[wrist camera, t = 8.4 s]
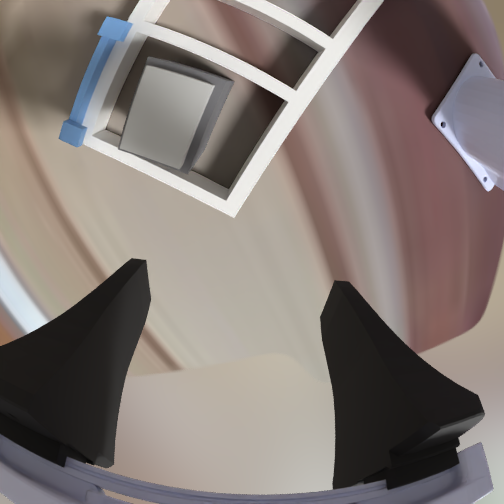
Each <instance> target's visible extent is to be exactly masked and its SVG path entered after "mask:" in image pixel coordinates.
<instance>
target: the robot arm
mask: <svg viewBox="0 0 504 504" xmlns="http://www.w3.org/2000/svg"><path fill="white" fill-rule="evenodd" d="M479 62H480V65H479ZM432 122H433V124H434V125H435V126H436V127H437V128H438V130H439V131H440V132H441V133H442V134H443V135H444V136H445V138H446V139H447V140H448V141H449V142H450V143H451V145H452V146H453V147H454V148H455V150H456V151H457V152H458V153H459V155H460V156H461V157H462V158H463V160H464V161H465V162H466V164H467V165H468V166H469V168H470V169H471V170H472V172H473V173H474V174H475V176H476V177H477V179H478V180H479V181H480V183H481V184H482V186H483V187H484V189H485V190H487V191H490V190H491V189H492V188H493V186H494V185H496V186H498V187H499V188H500V189H502V190H503V191H504V80H499V79H496V78H495V77H494V75H493V74H492V72H491V71H490V70H489V68H488V67H487V65H486V64H485V63H484V61H483V60H482V59H481V57H480V56H479V55H478V54H472V55H471V56H470V58H469V59H468V61H467V63H466V64H465V66H464V68H463V69H462V71H461V73H460V74H459V76H458V77H457V79H456V81H455V82H454V84H453V85H452V87H451V88H450V90H449V91H448V93H447V95H446V96H445V98H444V99H443V101H442V102H441V104H440V105H439V107H438V108H437V110H436V111H435V113H434V114H433V116H432ZM441 122H443V126H442V127H441ZM483 179H484V180H483ZM150 302H151V295H150V288H149V280H148V272H147V263H146V260H141V259H133V258H131V259H130V260H129V261H128V262H126V263H125V264H124V265H123V266H122V267H120V268H119V269H118V270H117V271H116V272H115V273H114V274H112V275H111V276H110V277H109V278H108V279H106V280H105V281H104V282H103V283H102V284H101V285H99V286H98V287H97V288H96V289H95V290H93V291H92V292H91V293H90V294H88V295H87V296H86V297H84V298H83V299H82V300H81V301H79V302H78V303H77V304H76V305H74V306H73V307H71V308H70V309H69V310H67V311H66V312H64V313H63V314H61V315H60V316H58V317H57V318H55V319H54V320H52V321H50V322H49V323H47V324H45V325H43V326H42V327H40V328H38V329H36V330H35V331H33V332H31V333H29V334H27V335H25V336H23V337H21V338H19V339H17V340H14V341H12V342H10V343H7V344H5V345H2V346H0V492H1V493H2V494H3V495H4V496H5V497H7V498H8V499H9V500H11V501H12V502H13V503H15V504H132V503H129V502H125V501H122V500H118V499H115V498H112V497H109V496H106V495H105V493H104V491H103V490H102V489H101V488H103V489H106V490H109V491H112V492H116V493H119V494H122V495H126V496H129V497H133V498H137V499H141V500H145V501H149V502H154V503H159V504H474V503H475V502H477V501H478V500H480V499H481V498H483V497H484V496H486V495H487V494H489V493H490V492H492V491H493V484H492V480H491V476H490V472H489V467H488V464H487V459H486V456H485V452H484V449H483V445H482V443H481V442H479V443H477V444H475V445H473V446H471V447H468V448H466V449H464V450H463V451H460V452H458V453H457V451H456V447H458V446H459V445H460V443H459V439H458V437H460V436H461V435H463V434H464V433H465V432H466V431H468V430H470V429H471V428H472V427H473V426H475V425H476V424H477V423H479V422H480V421H481V420H482V419H483V417H484V415H485V413H484V410H483V407H482V404H481V401H480V399H479V396H478V395H477V394H474V393H473V392H471V391H469V390H467V389H465V388H464V387H462V386H460V385H458V384H457V383H455V382H453V381H452V380H450V379H449V378H447V377H446V376H444V375H443V374H441V373H440V372H438V371H437V370H436V369H434V368H433V367H432V366H431V365H429V364H428V363H427V362H425V361H424V360H423V359H422V358H420V357H419V356H418V355H417V354H416V353H415V352H414V351H413V350H411V349H410V348H409V347H408V346H407V345H406V344H405V343H404V342H403V341H402V340H401V339H400V338H399V337H398V336H397V335H396V334H395V333H394V332H393V331H392V330H391V329H390V328H389V327H388V326H387V324H386V323H385V322H384V321H383V320H382V319H381V318H380V317H379V316H378V314H377V313H376V312H375V311H374V310H373V309H372V307H371V306H370V305H369V304H368V303H367V302H366V300H365V299H364V298H363V297H362V296H361V295H360V293H359V292H358V291H357V290H356V289H355V288H354V287H353V285H352V284H351V283H350V282H347V281H336V280H335V281H334V283H333V286H332V289H331V291H330V294H329V296H328V299H327V301H326V304H325V306H324V309H323V311H322V314H321V316H320V321H321V333H322V341H323V346H324V351H325V356H326V360H327V365H328V369H329V374H330V379H331V384H332V390H333V396H334V410H335V435H336V436H335V438H336V439H335V464H334V477H333V490H327V491H319V492H309V493H297V494H276V495H247V494H246V495H245V494H226V493H213V492H203V491H195V490H188V489H181V488H175V487H169V486H164V485H159V484H154V483H149V482H145V481H141V480H137V479H133V478H128V477H125V476H122V475H118V474H115V473H111V472H108V471H105V470H102V469H99V468H96V467H93V466H90V465H88V464H86V463H89V464H92V465H98V466H101V467H104V468H109V467H111V466H112V465H114V452H115V437H116V428H117V420H118V413H119V407H120V402H121V396H122V391H123V387H124V382H125V377H126V374H127V371H128V367H129V365H130V362H131V359H132V356H133V354H134V351H135V348H136V346H137V343H138V340H139V338H140V335H141V332H142V330H143V327H144V325H145V322H146V318H147V314H148V310H149V306H150Z"/></svg>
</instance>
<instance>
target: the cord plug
mask: <svg viewBox="0 0 504 504" xmlns="http://www.w3.org/2000/svg"><path fill="white" fill-rule="evenodd" d="M233 84H234V81H232V80H229V79H227V78H224V77H221V76H218V75H215V74H213V73H210V72H207V71H204V70H201V69H198V68H195V67H191V66H188V65H185V64H182V63H178V62H174V61H170V60H165V59H159V58H154V57H149V56H148V58H147V61H146V63H145V66H144V68H143V71H142V74H141V76H140V79H139V82H138V84H137V87H136V90H135V93H134V96H133V99H132V102H131V105H130V108H129V111H128V115H127V118H126V121H125V125H124V128H123V132H122V135H121V139H120V143H119V146H118V150H121V151H124V152H127V153H130V154H133V155H136V156H138V157H141V158H144V159H147V160H150V161H153V162H155V163H158V164H161V165H164V166H167V167H169V168H172V169H175V170H177V171H180V172H183V173H185V174H188V173H189V172H190V170H191V169H192V168H193V166H194V165H195V163H196V162H197V160H198V159H199V157H200V156H201V154H202V153H203V151H204V150H205V148H206V145H207V143H208V140H209V138H210V135H211V133H212V131H213V128H214V126H215V124H216V121H217V119H218V117H219V114H220V112H221V110H222V108H223V105H224V103H225V101H226V99H227V97H228V94H229V92H230V90H231V88H232V86H233Z"/></svg>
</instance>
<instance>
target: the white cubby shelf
mask: <svg viewBox="0 0 504 504" xmlns="http://www.w3.org/2000/svg"><path fill="white" fill-rule="evenodd" d="M169 1H170V0H140V1H139V2H138V4H137V5H136V7H135V9H134V10H133V12H132V14H131V15H130V17H129V19H128V21H123V20H119V19H116V18H112V17H108V16H107V17H106V19H105V21H104V23H103V24H102V26H101V28H100V30H99V32H98V34H97V35H100V36H102V37H101V39H100V41H99V43H98V45H97V47H96V50H95V52H94V54H93V56H92V58H91V61H90V63H89V65H88V68H87V70H86V72H85V75H84V77H83V80H82V83H81V85H80V88H79V91H78V93H77V96H76V99H75V102H74V105H73V108H72V111H71V114H70V117H69V120H66V121H64V122H63V125H62V129H61V132H60V136H59V139H60V140H62V141H64V142H66V143H69V144H71V145H73V146H75V147H79V146H81V145H82V144H84V145H86V146H88V147H90V148H92V149H95V150H97V151H99V152H101V153H103V154H105V155H107V156H109V157H112V158H114V159H116V160H118V161H120V162H122V163H124V164H126V165H128V166H130V167H133V168H135V169H137V170H139V171H141V172H143V173H145V174H147V175H149V176H151V177H153V178H155V179H157V180H159V181H161V182H163V183H165V184H167V185H169V186H172V187H174V188H176V189H178V190H180V191H182V192H184V193H186V194H188V195H190V196H192V197H194V198H196V199H198V200H200V201H202V202H204V203H206V204H208V205H210V206H212V207H214V208H216V209H218V210H220V211H221V212H223V213H225V214H227V215H229V216H231V217H233V218H234V217H235V216H236V214H237V212H238V211H239V209H240V208H241V206H242V204H243V203H244V201H245V200H246V198H247V197H248V195H249V193H250V192H251V190H252V189H253V187H254V186H255V184H256V183H257V181H258V179H259V178H260V176H261V175H262V173H263V172H264V170H265V169H266V167H267V166H268V164H269V162H270V161H271V159H272V158H273V156H274V155H275V153H276V152H277V150H278V149H279V147H280V146H281V144H282V143H283V141H284V140H285V138H286V137H287V135H288V134H289V132H290V131H291V129H292V128H293V126H294V125H295V123H296V122H297V120H298V119H299V117H300V116H301V114H302V113H303V112H304V110H305V109H306V107H307V106H308V104H309V103H310V101H311V100H312V98H313V97H314V96H315V94H316V93H317V91H318V90H319V88H320V87H321V86H322V84H323V83H324V81H325V80H326V78H327V77H328V76H329V74H330V73H331V71H332V70H333V68H334V67H335V66H336V64H337V63H338V62H339V60H340V59H341V57H342V56H343V55H344V53H345V52H346V50H347V49H348V48H349V46H350V45H351V44H352V42H353V41H354V39H355V38H356V37H357V35H358V34H359V33H360V31H361V30H362V29H363V27H364V26H365V25H366V23H367V22H368V21H369V19H370V18H371V17H372V15H373V14H374V13H375V11H376V10H377V9H378V8H379V6H380V5H381V4H382V2H383V1H384V0H357V1H356V3H355V4H354V5H353V6H352V8H351V9H350V10H349V11H348V13H347V14H346V15H345V17H344V18H343V19H342V21H341V22H340V23H339V25H338V26H337V27H336V29H335V30H334V31H333V33H332V34H331V35H330V37H329V36H327V35H326V34H324V33H323V32H321V31H320V30H318V29H317V28H315V27H313V26H312V25H310V24H308V23H307V22H305V21H303V20H301V19H300V18H298V17H296V16H294V15H293V14H291V13H289V12H287V11H285V10H283V9H281V8H279V7H278V6H276V5H274V4H272V3H269V2H267V1H265V0H218V1H220V2H223V3H225V4H228V5H230V6H233V7H235V8H237V9H240V10H242V11H244V12H246V13H248V14H251V15H253V16H255V17H257V18H259V19H261V20H263V21H265V22H267V23H269V24H271V25H273V26H275V27H277V28H278V29H280V30H282V31H284V32H286V33H288V34H289V35H291V36H293V37H295V38H296V39H298V40H300V41H301V42H303V43H305V44H306V45H308V46H310V47H311V48H313V49H314V50H316V51H317V52H318V53H317V55H316V56H315V57H314V59H313V60H312V62H311V63H310V64H309V66H308V67H307V69H306V70H305V72H304V73H303V74H302V76H301V77H300V79H299V80H298V82H297V83H296V85H295V86H294V87H293V89H292V88H290V87H289V86H287V85H285V84H284V83H282V82H280V81H279V80H277V79H275V78H273V77H272V76H270V75H268V74H266V73H264V72H263V71H261V70H259V69H257V68H255V67H253V66H251V65H249V64H248V63H246V62H244V61H242V60H240V59H238V58H236V57H234V56H232V55H229V54H227V53H225V52H223V51H221V50H219V49H217V48H214V47H212V46H210V45H208V44H205V43H203V42H201V41H198V40H196V39H193V38H191V37H188V36H186V35H183V34H181V33H178V32H175V31H172V30H170V29H167V28H164V27H161V26H158V25H155V23H156V22H157V20H158V18H159V17H160V15H161V13H162V12H163V10H164V9H165V7H166V6H167V4H168V3H169ZM148 36H150V37H153V38H156V39H158V40H161V41H164V42H167V43H169V44H172V45H174V46H177V47H180V48H182V49H185V50H187V51H189V52H192V53H194V54H196V55H199V56H201V57H203V58H206V59H208V60H210V61H212V62H214V63H216V64H219V65H221V66H223V67H225V68H227V69H229V70H231V71H233V72H235V73H237V74H239V75H241V76H243V77H245V78H247V79H249V80H250V81H252V82H254V83H256V84H258V85H260V86H261V87H263V88H265V89H267V90H269V91H270V92H272V93H274V94H276V95H277V96H279V97H281V98H282V99H284V100H285V101H284V102H283V104H282V105H281V107H280V108H279V110H278V111H277V113H276V114H275V116H274V118H273V119H272V121H271V122H270V124H269V125H268V127H267V128H266V130H265V131H264V133H263V135H262V136H261V138H260V139H259V141H258V142H257V144H256V146H255V147H254V149H253V150H252V152H251V154H250V155H249V157H248V158H247V160H246V162H245V163H244V165H243V167H242V168H241V170H240V172H239V173H238V175H237V176H236V178H235V180H234V181H233V183H232V185H231V186H230V188H229V189H227V188H225V187H223V186H221V185H219V184H218V183H216V182H214V181H212V180H210V179H208V178H206V177H204V176H202V175H200V174H198V173H196V172H194V171H192V170H190V172H189V173H188V174H185V173H183V172H180V171H177V170H175V169H172V168H169V167H167V166H164V165H161V164H158V163H155V162H153V161H150V160H147V159H144V158H141V157H138V156H136V155H133V154H130V153H127V152H124V151H121V150H118V146H119V143H120V139H121V136H119V135H117V134H114V133H112V132H110V131H108V130H105V129H106V126H107V123H108V121H109V118H110V116H111V113H112V110H113V108H114V105H115V103H116V101H117V98H118V96H119V94H120V91H121V89H122V87H123V84H124V82H125V80H126V78H127V76H128V74H129V72H130V69H131V67H132V65H133V63H134V61H135V59H136V57H137V55H138V54H139V52H140V50H141V48H142V46H143V44H144V42H145V41H146V39H147V37H148Z"/></svg>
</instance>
